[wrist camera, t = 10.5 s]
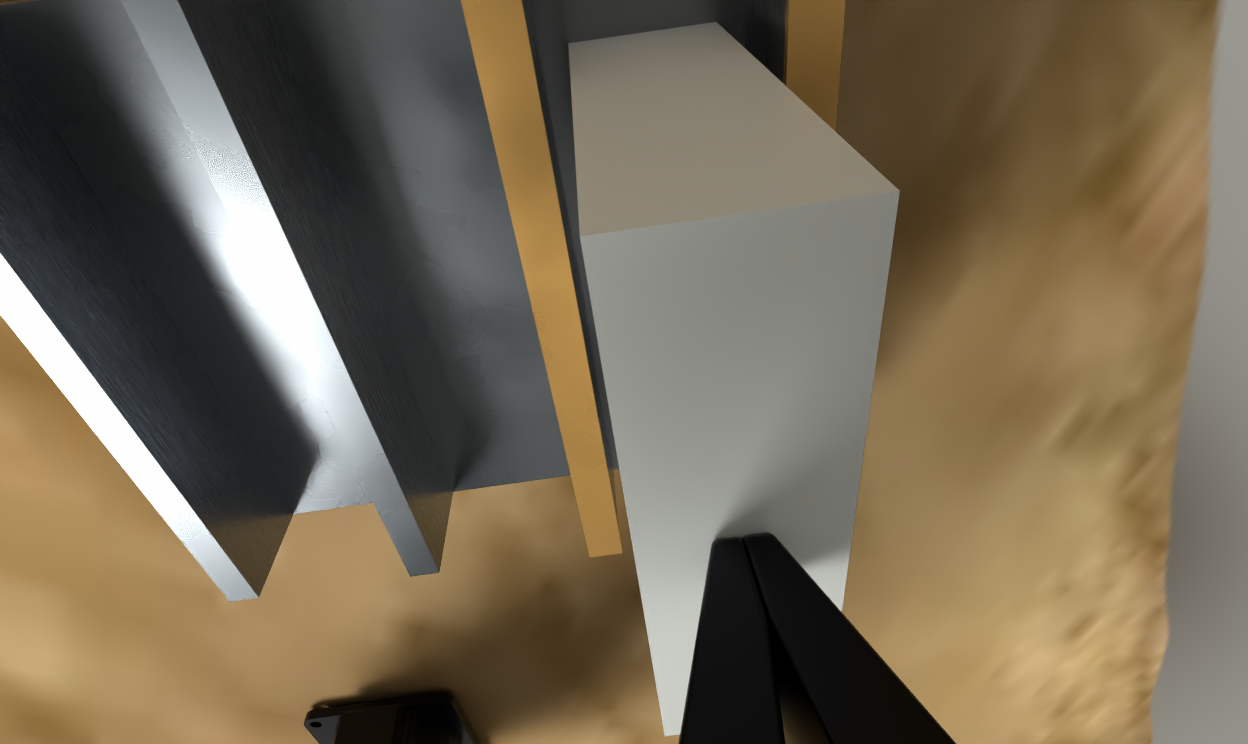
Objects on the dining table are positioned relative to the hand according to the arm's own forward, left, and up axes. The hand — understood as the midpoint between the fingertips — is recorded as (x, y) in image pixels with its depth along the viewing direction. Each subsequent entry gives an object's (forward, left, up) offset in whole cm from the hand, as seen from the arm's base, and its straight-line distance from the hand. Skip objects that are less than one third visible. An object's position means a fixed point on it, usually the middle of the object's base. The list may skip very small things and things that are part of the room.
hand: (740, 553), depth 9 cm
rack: (0, +5, -10) cm, 11 cm away
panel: (0, 0, -9) cm, 9 cm away
